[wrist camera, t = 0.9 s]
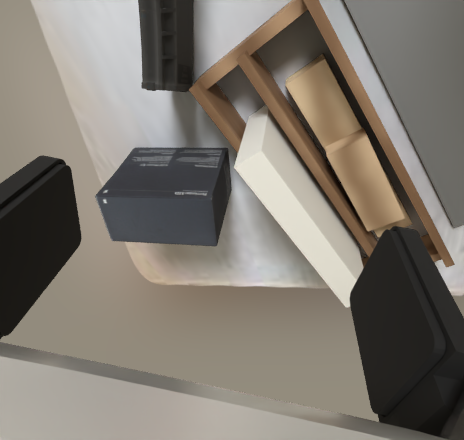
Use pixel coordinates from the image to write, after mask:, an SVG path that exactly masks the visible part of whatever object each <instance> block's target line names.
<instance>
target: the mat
mask: <svg viewBox="0 0 464 440" xmlns="http://www.w3.org/2000/svg"><path fill="white" fill-rule="evenodd" d="M344 1H345V3H346V6H347V8H348V10H349V12H350V14H351V16H352V18H353V20H354V22H355V24H356V26H357V28H358V30H359V32H360V35H361V37H362V39H363V41H364V43H365V45H366V47H367V49H368V51H369V53H370V55H371V57H372V59H373V61H374V64H375V66H376V68H377V70H378V72H379V74H380V76H381V78H382V80H383V82H384V84H385V86H386V88H387V90H388V93H389V95H390V97H391V99H392V101H393V103H394V105H395V107H396V109H397V111H398V113H399V115H400V117H401V119H402V122H403V124H404V126H405V128H406V130H407V132H408V134H409V136H410V138H411V140H412V142H413V144H414V146H415V148H416V151H417V153H418V155H419V157H420V159H421V161H422V163H423V165H424V167H425V169H426V171H427V173H428V175H429V178H430V180H431V182H432V184H433V186H434V188H435V190H436V192H437V194H438V196H439V198H440V200H441V202H442V204H443V207H444V209H445V211H446V213H447V215H448V217H449V219H450V221H451V223H452V225H453V227H454V228H455V227H458V226H461V225H464V0H344Z"/></svg>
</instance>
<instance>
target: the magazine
mask: <svg viewBox="0 0 464 440" xmlns="http://www.w3.org/2000/svg"><path fill="white" fill-rule="evenodd" d="M138 3H139V14H140V29H141V47H142V77H143V83H142V88H143V89H146V90H152V91H156V90H168V91H180V92H186V91H189V89H190V88H191V87H192V66H193V0H138Z"/></svg>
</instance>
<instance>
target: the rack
mask: <svg viewBox="0 0 464 440" xmlns="http://www.w3.org/2000/svg"><path fill="white" fill-rule="evenodd" d="M307 10H309V12H310V14H311V16H312V17H313V19H314V21H315V23H316V25H317V27H318V29H319V30H320V32H321V34H322V36H323V38H324V40H325V42H326V44H327V45H328V47H329V49H330V51H331V53H332V55H333V57H334V58H335V60H336V62H337V64H338V66H339V68H340V70H341V72H342V73H343V75H344V77H345V79H346V81H347V83H348V85H349V87H350V88H351V90H352V92H353V94H354V96H355V98H356V100H357V101H358V103H359V105H360V107H361V109H362V111H363V113H364V115H365V116H366V118H367V120H368V122H369V124H370V126H371V128H372V129H373V131H374V133H375V135H376V137H377V139H378V141H379V143H380V144H381V146H382V148H383V150H384V152H385V154H386V156H387V157H388V159H389V161H390V163H391V165H392V167H393V169H394V171H395V172H396V174H397V176H398V178H399V180H400V182H401V184H402V186H403V187H404V189H405V191H406V193H407V195H408V197H409V199H410V200H411V202H412V204H413V206H414V208H415V210H416V212H417V214H418V215H419V217H420V219H421V221H422V223H423V225H424V227H425V228H426V230H427V232H428V234H427V235H425V236H422V237H421V239H422V241H423V243H424V245H425V247H426V249H427V250H428V252H429V254H430V256H431V258H432V260H433V262H435V261H438V260H441V259H442V260H443V262H444V264H445V266H446V267H449V266H452V265H455V264H454V262H453V260H452V258H451V256H450V254H449V252H448V250H447V248H446V246H445V245H444V243H443V241H442V239H441V237H440V235H439V233H438V231H437V229H436V227H435V225H434V223H433V221H432V219H431V217H430V215H429V213H428V212H427V210H426V208H425V206H424V204H423V202H422V200H421V198H420V196H419V194H418V192H417V190H416V188H415V186H414V184H413V182H412V181H411V179H410V177H409V175H408V173H407V171H406V169H405V167H404V165H403V163H402V161H401V159H400V157H399V155H398V153H397V151H396V149H395V148H394V146H393V144H392V142H391V140H390V138H389V136H388V134H387V132H386V130H385V128H384V126H383V124H382V122H381V120H380V118H379V117H378V115H377V113H376V111H375V109H374V107H373V105H372V103H371V101H370V99H369V97H368V95H367V93H366V91H365V89H364V87H363V85H362V84H361V82H360V80H359V78H358V76H357V74H356V72H355V70H354V68H353V66H352V64H351V62H350V60H349V58H348V56H347V54H346V52H345V51H344V49H343V47H342V45H341V43H340V41H339V39H338V37H337V35H336V33H335V31H334V29H333V27H332V25H331V23H330V21H329V20H328V18H327V16H326V14H325V12H324V10H323V8H322V6H321V4H320V2H319V0H292V1H291V2H289V3H288V4H287V5H286V6H285V7H283V8H282V9H281V10H280V11H279V12H277V13H276V14H275V15H274V16H272V17H271V18H270V19H269V20H268V21H266V22H265V23H264V24H263V25H262V26H260V27H259V28H258V29H257V30H256V31H254V32H253V33H252V34H251V35H249V36H248V37H247V38H246V39H245V40H243V41H242V42H241V43H240V44H239V45H237V46H236V47H235V48H234V49H233V50H231V51H230V52H229V53H228V54H227V55H225V56H224V57H223V58H222V59H220V60H219V61H218V62H217V63H216V64H214V65H213V66H212V67H211V68H210V69H208V70H207V71H206V72H205V73H204V74H202V75H201V76H200V77H199V78H198V80H197V81H196V82H195V83H194V84H193V85H192V87H191V88H190V89H189V91H190V92H191V93H192V95H193V96H194V97H195V99H196V100H197V101H198V102H199V104H200V105H201V106H202V108H203V109H204V110H205V112H206V113H207V114H208V115H209V117H210V118H211V119H212V121H213V122H214V123H215V124H216V126H217V127H218V128H219V130H220V131H221V132H222V133H223V135H224V136H225V137H226V139H227V140H228V141H229V143H230V144H231V145H232V146H233V148H234V149H235V150H236V152H237V153H238V152H239V148H240V145H241V142H242V138H243V135H244V131H245V128H246V123H245V122H244V120H243V119H242V118H241V116H240V115H239V114H238V112H237V111H236V109H235V108H234V107H233V105H232V104H231V103H230V101H229V100H228V98H227V97H226V96H225V94H224V93H223V92H222V90H221V89H220V87H219V86H218V85H217V83H216V82H217V81H218V80H220V79H221V78H222V77H223V76H225V75H226V74H227V73H228V72H230V71H231V70H232V69H233V68H235V67H236V66H237V65H238V64H239V65H240V67H241V68H242V70H243V71H244V73H245V74H246V76H247V77H248V79H249V80H250V82H251V83H252V85H253V86H254V88H255V89H256V91H257V92H258V93H259V95H260V96H261V98H262V99H263V101H264V102H265V104H266V105H267V107H268V108H269V110H270V111H271V113H272V114H273V116H274V117H275V119H276V120H277V122H278V123H279V125H280V126H281V128H282V129H283V131H284V132H285V133H286V135H287V136H288V138H289V139H290V141H291V142H292V144H293V145H294V147H295V148H296V150H297V151H298V153H299V154H300V156H301V157H302V159H303V160H304V162H305V163H306V165H307V166H308V168H309V169H310V171H311V172H312V173H313V175H314V176H315V178H316V179H317V181H318V182H319V184H320V185H321V187H322V188H323V190H324V191H325V193H326V194H327V196H328V197H329V199H330V200H331V202H332V203H333V205H334V206H335V208H336V209H337V210H338V212H339V213H340V215H341V216H342V218H343V219H344V221H345V222H346V224H347V225H348V227H349V228H350V230H351V231H352V233H353V234H354V236H355V237H356V239H357V240H358V242H359V243H360V245H361V246H362V248H363V249H364V250H365V252H366V253H367V255H368V257H366V258H363V259H361V260H362V264H363V268H364V267H365V265H366V263H367V261H368V259H369V257H370V255H371V254H372V252H373V250H374V248H375V246H376V244H377V243H378V242H377V240H376V238H375V237H374V235H373V234H372V232H371V231H367V229H366V227H365V226H364V224H363V222H362V220H361V218H360V216H359V215H358V213H357V211H356V209H355V207H354V205H353V203H352V202H351V200H350V198H349V196H348V195H347V193H346V191H345V190H344V188H343V187H342V185H341V184H340V182H339V181H338V179H337V177H336V176H335V174H334V173H333V171H332V170H331V168H330V166H329V165H328V163H327V162H326V160H325V159H324V157H323V155H322V154H321V152H320V151H319V149H318V148H317V146H316V145H315V143H314V141H313V140H312V138H311V137H310V135H309V134H308V132H307V130H306V129H305V127H304V126H303V124H302V123H301V121H300V119H299V118H298V116H297V115H296V113H295V112H294V110H293V109H292V107H291V105H290V104H289V102H288V101H287V99H286V98H285V96H284V94H283V93H282V91H281V90H280V88H279V87H278V85H277V84H276V82H275V80H274V79H273V77H272V76H271V74H270V73H269V71H268V69H267V68H266V66H265V65H264V63H263V62H262V60H261V58H260V57H259V55H258V54H257V52H256V50H257V49H259V48H260V47H261V46H262V45H264V44H265V43H266V42H268V41H269V40H270V39H271V38H273V37H274V36H275V35H276V34H278V33H279V32H280V31H281V30H283V29H284V28H285V27H286V26H288V25H289V24H290V23H291V22H293V21H294V20H295V19H297V18H298V17H299V16H300V15H302V14H303V13H304V12H305V11H307Z"/></svg>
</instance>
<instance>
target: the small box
mask: <svg viewBox="0 0 464 440" xmlns="http://www.w3.org/2000/svg"><path fill="white" fill-rule="evenodd" d="M230 192H231V180H230V168H229V156H228V149H227V148H134V149H133V150H132V152H131V153H130V154H129V155H128V157H127V158H126V159H125V161H124V162H123V163H122V164H121V166H120V167H119V168H118V170H117V171H116V172H115V173H114V174H113V176H112V177H111V178H110V179H109V180H108V181H107V183H106V184H105V185H104V186H103V188H102V189H101V190H100V191H99V192H98V193H97V195H96V196H95V198H96V200H97V203H98V205H99V208H100V211H101V213H102V216H103V219H104V222H105V225H106V228H107V231H108V233H109V236H110V238H111V240H112V241H126V242H144V243H163V244H183V245H202V246H217V243H218V239H219V235H220V231H221V228H222V223H223V220H224V215H225V212H226V208H227V204H228V200H229V196H230Z"/></svg>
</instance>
